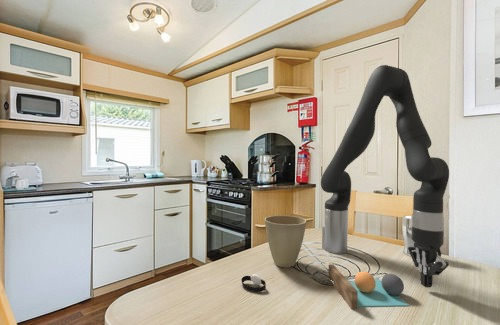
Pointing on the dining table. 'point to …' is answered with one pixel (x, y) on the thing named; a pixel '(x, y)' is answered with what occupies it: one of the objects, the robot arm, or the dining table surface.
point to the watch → (255, 280)
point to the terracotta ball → (365, 282)
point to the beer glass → (407, 234)
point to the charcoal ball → (392, 284)
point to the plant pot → (285, 238)
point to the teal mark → (377, 297)
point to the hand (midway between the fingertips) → (426, 285)
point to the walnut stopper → (343, 287)
